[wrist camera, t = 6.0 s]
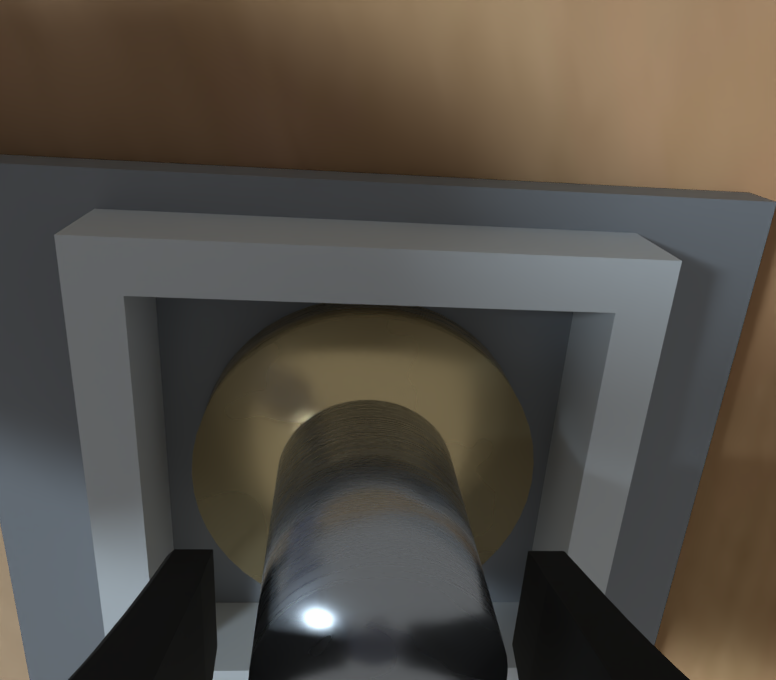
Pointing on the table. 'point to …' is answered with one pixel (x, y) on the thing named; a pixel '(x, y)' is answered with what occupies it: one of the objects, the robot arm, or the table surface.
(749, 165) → the table surface
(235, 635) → the carrier
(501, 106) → the table surface
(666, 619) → the table surface
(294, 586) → the flanged metal cylinder
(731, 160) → the table surface
